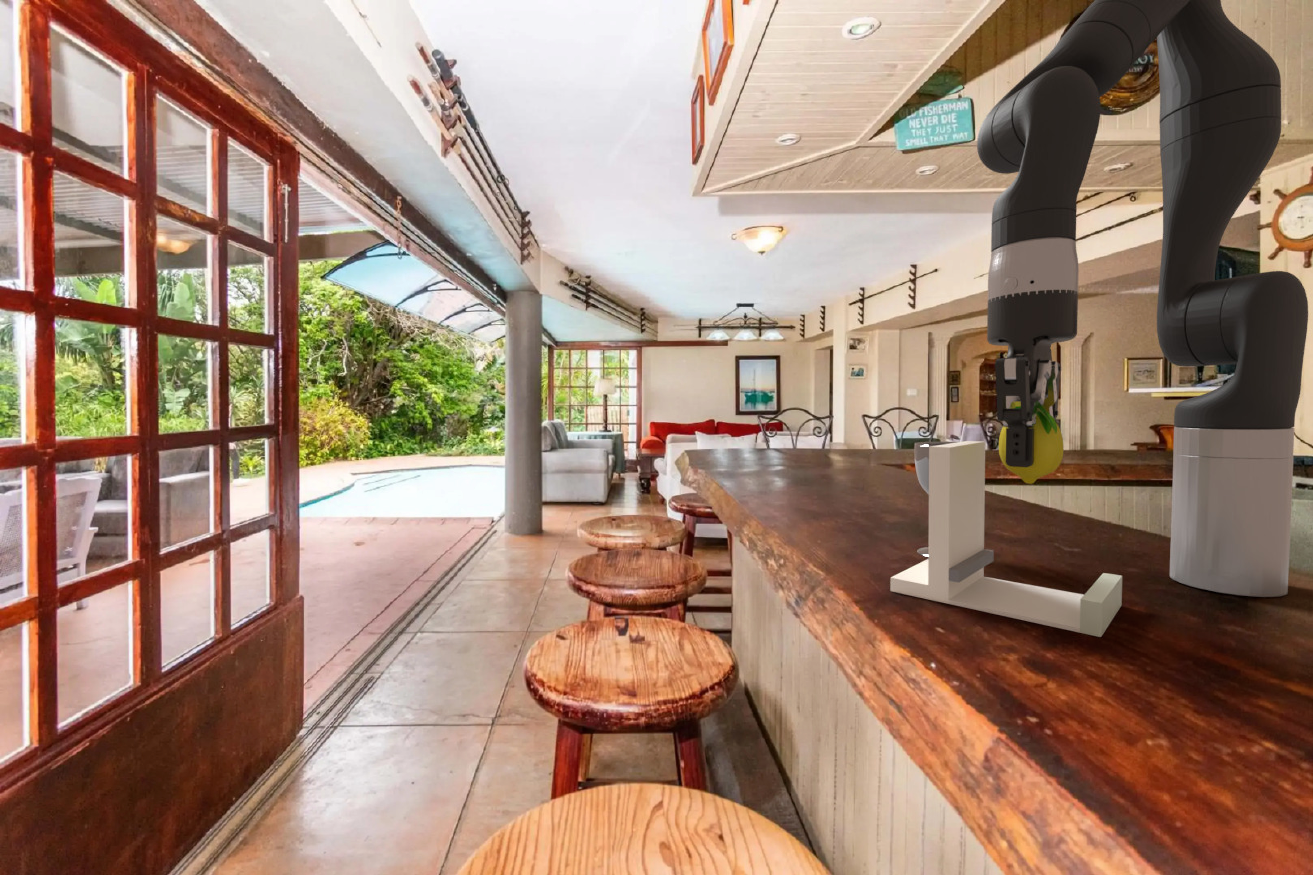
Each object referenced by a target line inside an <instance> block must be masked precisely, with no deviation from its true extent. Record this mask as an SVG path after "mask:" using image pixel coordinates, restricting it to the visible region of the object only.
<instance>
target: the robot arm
mask: <svg viewBox="0 0 1313 875" xmlns="http://www.w3.org/2000/svg"><path fill="white" fill-rule="evenodd" d="M1155 40H1156V42H1157V57H1158V58H1157V60H1158V76H1159V78H1158V79H1159V120H1158V121H1159V148H1160V150H1159V152H1160V165H1161V168H1160V169H1161V182H1162V183H1161V184H1162V243H1161V257H1160V269H1159V281H1158V290H1157V293H1158V294H1157V307H1156V309H1157V310H1156V331H1157V332H1156V334H1157V339H1158V344H1159V347H1160V350H1161V352H1162V354H1163V356H1164V357H1165V359H1167V361H1168V362H1169V363H1171V364H1172V365H1175V366H1178V367H1185V368H1186V367H1204V366H1205V367H1209V366H1225V365H1236V367H1235V370H1234V373H1233V376H1232V377H1231V378H1230V379H1229V380H1228V381H1227V382H1225V383H1224V384H1222V385H1221V386H1219V387H1216V388H1215V389H1213V390H1210V391H1209V392H1206V393H1202V394H1200V395H1197V396H1194V397H1191V398H1187V399H1184V400H1182V401H1180V402H1179V403H1177V404H1176V406H1175V408H1174V413H1173V416H1174V418H1173V426H1174V427H1173V450H1172V452H1173V457H1172V458H1173V463H1172V464H1173V465H1172V488H1171V489H1172V491H1171V492H1172V496H1171V520H1170V521H1171V527H1170V545H1169V546H1170V549H1169V550H1170V552H1169V553H1170V554H1169V556H1170V557H1169V577H1170V578H1171V579H1172V580H1173V581H1176V582H1178V583H1181V584H1183V585H1186V586H1189V587H1193V588H1197V589H1201V590H1207V591H1210V592H1211V591H1212V592H1216V593H1220V594H1221V593H1222V594H1227V595H1228V594H1229V595H1236V596H1247V597H1259V598H1262V597H1263V598H1267V597H1268V598H1272V597H1273V598H1274V597H1282V596H1286V595H1288V592H1289V590H1288V589H1289V569H1290V568H1289V567H1290V552H1291V549H1290V548H1291V526H1292V525H1291V524H1292V501H1293V500H1292V499H1293V498H1292V497H1293V478H1294V477H1293V474H1294V446H1295V445H1294V444H1295V428H1294V427H1295V421H1296V412H1297V408H1298V404H1299V401H1300V397H1301V390H1302V373H1303V365H1304V357H1305V350H1306V342H1307V333H1308V323H1309V322H1308V321H1309V302H1308V297H1307V292H1306V290H1305V287H1304V285H1303V283H1302V281H1301V280H1300V279H1299V278H1298V277H1297V276H1296V275H1295V274H1293V273H1291V272H1289V271H1284V270H1283V271H1282V270H1272V271H1264V272H1258V273H1252V274H1246V275H1239V276H1233V277H1228V278H1223V279H1217V280H1216V279H1215V277H1216V276H1215V275H1216V267H1217V266H1216V265H1217V257H1218V253H1219V252H1218V251H1219V249H1220V244H1221V241H1222V239H1223V235H1224V233H1225V231H1226V230H1227V227H1228V225H1229V223H1230V221H1231V219H1232V218H1233V217H1234V215H1235V214H1236V213H1237V212H1236V211H1237V210H1238V208H1239V207H1240V205H1241V204H1242V203H1243V201H1244V200H1245V198H1246V197H1247V195H1248V194H1249V193H1250V192H1251V190H1252V189H1253V187H1254V185H1255V184H1256V182H1257V181H1258V180H1259V179H1260V176H1261V175H1262V174H1263V173H1264V172H1263V171H1264V170H1265V168H1266V167H1267V166H1268V163H1270V160H1271V158H1272V157H1273V155H1274V153H1275V151H1276V148H1277V146H1278V144H1279V141H1280V139H1281V133H1282V88H1281V87H1282V80H1281V74H1280V73H1281V72H1280V69H1279V67H1278V65H1277V63H1276V62H1275V60H1274V59H1273V58H1272V56H1271V54H1269V53H1268V52H1267V51H1266V49H1264V48H1263V47H1262V46H1261V45H1260V44H1259V43H1257V42H1256V41H1255V40H1254V39H1253V38H1251V37H1250V36H1249V35H1248V34H1246V33H1245V32H1244V31H1242V30H1241V29H1240V28H1238V27H1237V26H1236V25H1235V24H1234V23H1233V22H1232V21H1231V20H1230V19H1229V18H1228V17H1227V15H1226V14H1225V11H1224V9H1223V6H1222V1H1221V0H1093V2H1092V3H1091V4H1090V5H1089V6H1088V7H1087V8H1086V9H1085V10H1084V11H1083V13H1081V15H1080V17H1078V19H1077V20H1076V21H1075V22H1074V23H1073V24H1072V25H1071V27H1070V28H1069V29H1068V30H1067V31H1066V32H1065V33H1064V35H1063V36H1062V37H1061V38H1060V40H1058V42H1057V43H1056V45H1055V46H1054V47H1053V49H1051V51H1050V52H1049V53H1048V54H1047V55H1046V56H1045V57H1044V58H1043V60H1042V61H1041V62H1039V63H1038V64H1037V65H1036V66H1035V67H1033V69H1032V70H1031V71H1029V72H1028V73H1027V75H1025V76H1024V77H1023V78H1022V79H1021V80H1020V81H1018V83H1017V84H1016V85H1014V86H1013V87H1011V90H1009V91H1007V93H1006V94H1005V95H1004V96H1003V97H1002V98H1001V99H1000V100H999V101H998V102H997V103H996V104H995V105H994V107H992V109H990V111H989V112H988V113H987V115H986V117H985V118H984V119H983V121H982V123H981V125H980V128H979V131H978V134H977V139H976V140H977V141H976V147H977V148H976V149H977V155H978V157H979V159H980V161H981V163H982V164H983V165H984V166H985V168H987V169H989V170H990V171H992V172H995V173H998V174H1003V175H1007V174H1015V173H1017V175H1016V177H1015V178H1014V180H1013V181H1012V182H1011V184H1010V185H1009V186H1008V187H1007V188H1005V190H1003V191H1002V193H1000V195H998V196H997V198H996V200H995V201H994V203H993V206H992V211H991V212H992V213H991V233H990V234H991V236H990V238H991V242H990V243H991V244H990V251H991V254H990V262H989V268H988V276H987V314H986V316H987V319H986V323H987V326H986V330H987V331H986V341H987V343H989V344H990V345H993V346H1002V347H1007V355H1006V358H1005V357H1004V358H1003V357H1002V358H996V359H995V362H994V368H995V370H994V371H995V387H996V388H995V389H996V393H995V394H996V417H997V420H998V422H1002V424H1003V425H1002V427H1003V426H1004V427H1008V428H1006V464H1007V465H1008V466H1011V467H1030V466H1032V465H1033V463H1034V426H1035V424H1036V413H1037V410H1038V411H1040V410H1039V409H1038V407H1040V406H1043V407H1044V408H1045V410H1046V411H1047V412H1048V413H1049V414H1050V415H1051V416H1052V417H1053V418H1054V419H1055V420H1056V419H1057V418H1058V416H1059V411H1058V410H1059V409H1058V408H1059V395H1060V394H1059V393H1060V381H1061V380H1060V379H1061V371H1062V366H1061V365H1060V364H1061V363H1059V362H1058V361H1057V360H1053V355H1052V349H1051V346H1052V345H1053V344H1055V343H1063V342H1068V341H1071V340H1074V338H1076V337H1077V335H1078V310H1079V309H1078V308H1079V305H1078V304H1079V258H1078V253H1077V251H1078V250H1077V242H1076V241H1077V207H1078V206H1077V202H1078V201H1077V199H1078V195H1079V192H1080V189H1081V187H1082V183H1083V181H1084V177H1085V175H1086V172H1087V168H1088V166H1089V161H1090V158H1091V153H1092V151H1093V149H1094V148H1093V147H1094V144H1095V140H1096V138H1097V133H1098V129H1099V125H1100V119H1101V97H1103V96H1104V95H1106V94H1107V93H1108V92H1109V91H1111V89H1113V88H1114V87H1115V86H1116V85H1117V84H1118V83H1119V82H1120V80H1122V78H1123V77H1124V76H1125V75H1126V74H1127V72H1129V70H1130V69H1131V68H1132V67H1133V66H1134V64H1135V63H1137V61H1138V60H1139V58H1141V57H1142V55H1143V54H1144V53H1146V52H1145V51H1146V50H1147V49H1148V48H1149V47H1150V45H1151V44H1152V43H1153V42H1154V41H1155ZM1017 406H1021V408H1015V407H1017Z"/></svg>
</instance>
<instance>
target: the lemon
mask: <svg viewBox="0 0 1313 875" xmlns="http://www.w3.org/2000/svg"><path fill="white" fill-rule="evenodd" d="M1015 408H1021V406H1017V407H1015ZM1038 409H1039V410H1040V411H1038V410H1037V413H1036V424H1035V426H1034V463H1033V465H1032V466H1030V467H1011V466H1008V465H1007V464H1006V428H1008V427H1004V426H1003V425H1002V428H1001V431H1000V432H999V437H998V438H999V439H998V453H999V457H1000V461H1001V462H1002V465H1003V466H1004V467H1005V468H1006V469H1007V470H1008V471H1010V472H1011V473H1013V474H1015V475H1016V476H1018V477H1019V478H1020V479H1021V480H1022V481H1023V482H1024V483H1026V484H1028V485H1032V484H1035V482H1036V481H1037V480H1038V479H1040V478H1043V477H1045V476H1048V475H1049V474H1052V473H1053V472H1055V471H1056V470H1057V469H1058V468H1059V466H1060V465H1061V463H1062V460H1063V458H1064V439H1063V434H1062V431H1061V429H1060V426H1059V424H1058V423H1057V421H1056V419H1054V418H1053V417H1052V416H1051V415H1050V414H1049V413H1048V412H1047V411H1046V410H1045V408H1044V407H1043V406H1040V407H1038Z"/></svg>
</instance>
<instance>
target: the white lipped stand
mask: <svg viewBox="0 0 1313 875" xmlns="http://www.w3.org/2000/svg"><path fill="white" fill-rule="evenodd" d="M956 442H957V443H950V444H944V445H937V446H931V447H929V494H928V546H927V547H928V557H927V559H925V560H923V561H921V562H920V563H917V564H915V565H913V566H911V567H909V568H907V569H905V570H903V571H901V572H899V573H897V574H894V575H893V576H891V577H890V584H889V586H890V592H893V593H897V594H902V595H907V596H912V597H916V598H921V599H925V600H930V601H933V602H939V603H943V604H947V605H952V606H957V607H961V608H967V609H971V610H976V611H980V612H984V613H989V614H993V615H999V616H1002V617H1006V618H1012V619H1016V620H1021V621H1026V622H1030V623H1035V624H1039V625H1043V626H1049V627H1052V628H1057V629H1061V630H1067V631H1071V632H1075V633H1079V634H1080V633H1081V634H1085V635H1089V636H1094V637H1098V638H1101V637H1102V636H1103V635H1104V633H1105V632H1106V630H1107V628H1109V626H1110V624H1111V622H1112V621H1113V620H1114V618H1115V616H1116V615H1117V613H1118V611H1119V610H1120V608H1121V607H1122V600H1123V598H1122V597H1123V596H1122V595H1123V575H1119V574H1114V573H1105V572H1103V573H1102V574H1101V575H1100V576H1099V577H1098V578H1097V579H1096V581H1095V582H1094V583H1093V584H1092V586H1090V588H1088V590H1087V591H1086V592H1085V593H1084V594H1083V593H1077V592H1071V591H1066V590H1060V589H1055V588H1049V587H1044V586H1039V585H1032V584H1028V583H1022V582H1021V583H1020V582H1014V581H1010V580H1003V579H998V578H994V577H988V576H987V577H986V576H984V572H985V571H984V570H985V567H986V566H988V565H989V564H991V563H993V562H994V556H995V555H994V554H995V552H994V551H995V550H991V549H986V548H985V504H986V503H985V499H986V498H985V493H986V490H985V487H986V486H985V485H986V484H985V483H986V472H985V471H986V470H985V469H986V441H982V440H981V441H978V440H977V441H976V440H965V441H964V440H963V441H956Z"/></svg>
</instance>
